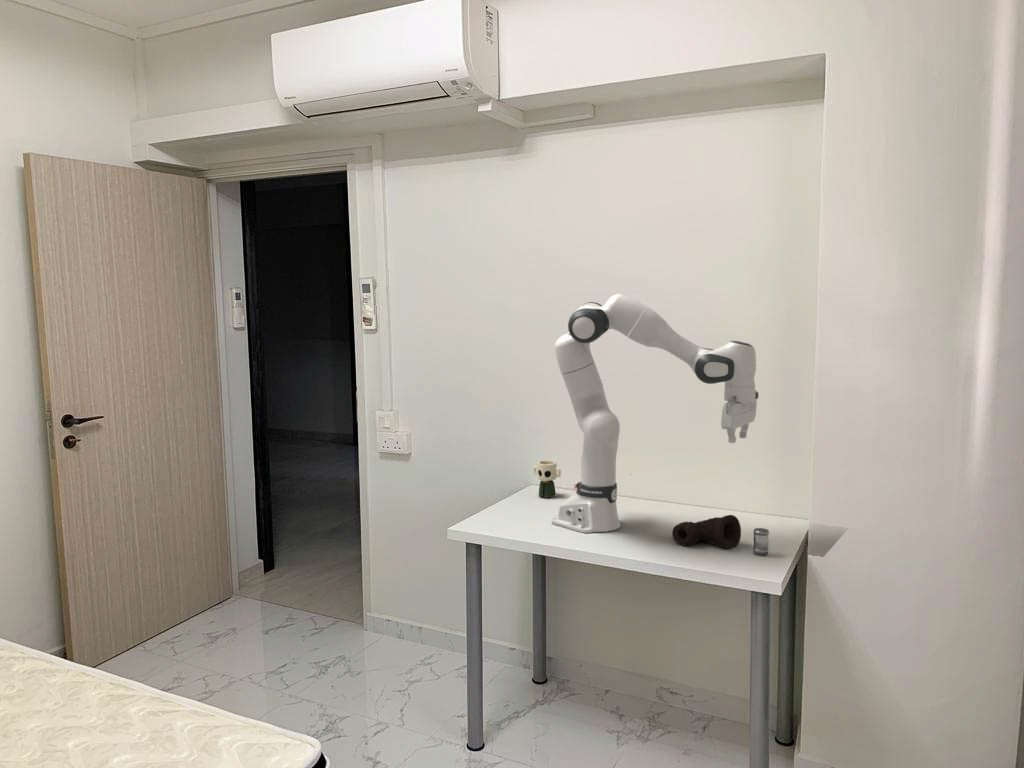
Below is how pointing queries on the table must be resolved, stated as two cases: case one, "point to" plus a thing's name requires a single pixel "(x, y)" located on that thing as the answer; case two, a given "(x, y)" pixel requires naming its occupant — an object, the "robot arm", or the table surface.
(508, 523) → the table surface
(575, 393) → the robot arm
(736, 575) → the table surface
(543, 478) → the character mug
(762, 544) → the container
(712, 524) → the pipe
